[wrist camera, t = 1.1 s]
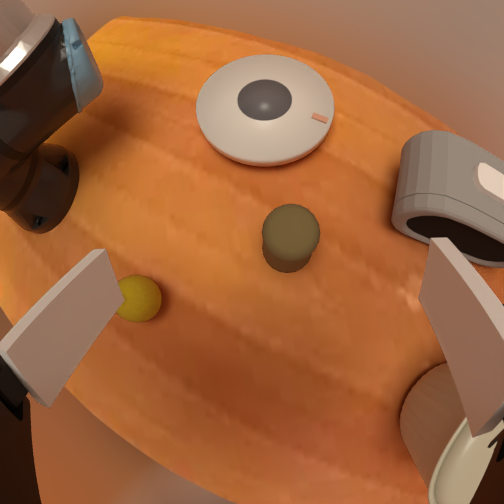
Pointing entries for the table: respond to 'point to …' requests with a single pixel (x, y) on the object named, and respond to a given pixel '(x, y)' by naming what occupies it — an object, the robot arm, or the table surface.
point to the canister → (444, 439)
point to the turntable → (265, 110)
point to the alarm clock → (452, 195)
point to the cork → (289, 237)
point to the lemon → (139, 298)
